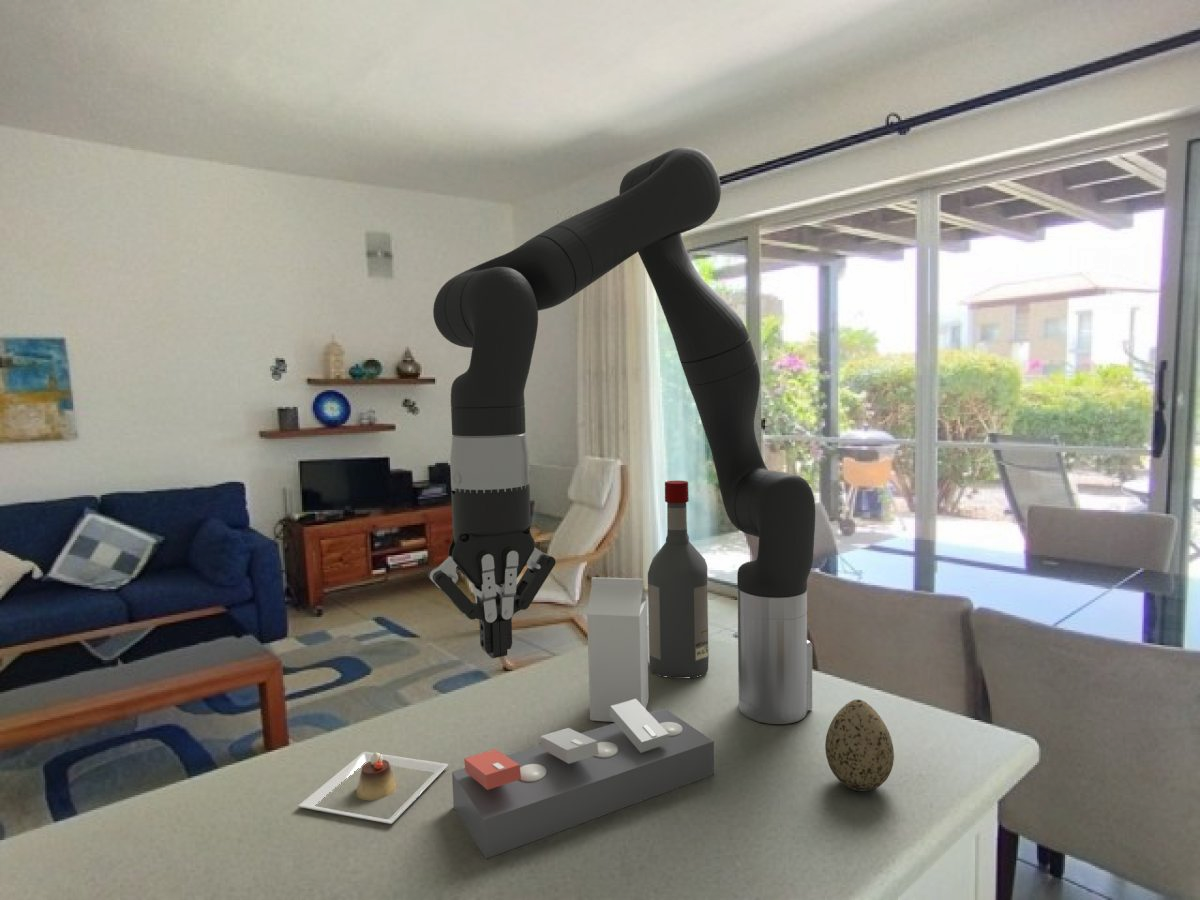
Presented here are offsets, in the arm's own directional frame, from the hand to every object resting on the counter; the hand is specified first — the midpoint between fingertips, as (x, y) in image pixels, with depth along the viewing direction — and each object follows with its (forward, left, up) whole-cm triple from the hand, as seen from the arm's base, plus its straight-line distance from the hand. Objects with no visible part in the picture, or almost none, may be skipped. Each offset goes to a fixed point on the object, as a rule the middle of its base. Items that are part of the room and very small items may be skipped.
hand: (496, 654), depth 70 cm
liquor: (-40, -25, -19) cm, 51 cm away
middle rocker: (-9, -3, -14) cm, 17 cm away
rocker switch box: (-11, -3, -19) cm, 22 cm away
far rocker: (-18, -3, -14) cm, 23 cm away
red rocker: (0, -3, -14) cm, 14 cm away
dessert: (+9, -16, -20) cm, 27 cm away
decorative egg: (-37, +13, -19) cm, 44 cm away
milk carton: (-24, -17, -19) cm, 36 cm away
